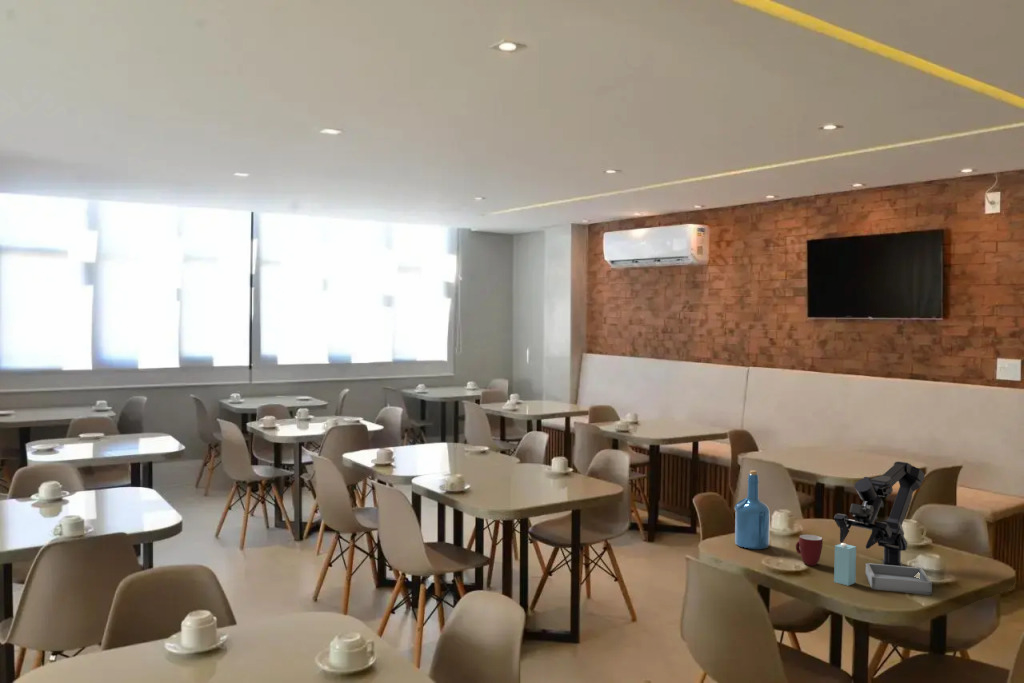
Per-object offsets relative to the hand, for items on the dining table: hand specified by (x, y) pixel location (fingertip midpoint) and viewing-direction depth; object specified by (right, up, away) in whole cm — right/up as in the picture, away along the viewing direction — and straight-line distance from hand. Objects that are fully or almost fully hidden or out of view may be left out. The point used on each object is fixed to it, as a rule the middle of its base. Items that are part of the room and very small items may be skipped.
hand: (853, 545), depth 274 cm
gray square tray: (+13, -12, -5) cm, 18 cm away
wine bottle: (-23, -11, +41) cm, 48 cm away
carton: (-4, -12, -3) cm, 13 cm away
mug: (-9, -12, +18) cm, 23 cm away
